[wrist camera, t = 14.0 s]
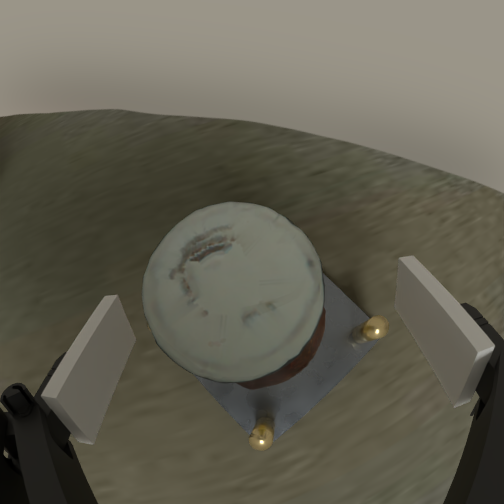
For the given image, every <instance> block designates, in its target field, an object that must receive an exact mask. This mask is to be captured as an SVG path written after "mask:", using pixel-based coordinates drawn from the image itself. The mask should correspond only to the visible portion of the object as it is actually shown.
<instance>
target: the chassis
mask: <svg viewBox="0 0 504 504" xmlns="http://www.w3.org/2000/svg"><path fill="white" fill-rule="evenodd" d="M323 277H324V283H325V303H324V308H325V311H326V313H325V331H324V334H323V338H322V340H321V343H320V346H319V347H318V350H317V352H316V354H315V356H314V357H313V359H312V360H311V361H310V362H309V364H308V366H307V367H305V368H304V369H303V370H302V371H301V372H300V373H298V374H296V375H295V376H294V377H292V378H290V379H289V380H287V381H285V382H283V383H280V384H277V385H272V386H268V387H264V388H260V389H255V390H250V389H247V388H244V387H242V386H240V385H238V384H237V383H219V382H214V381H211V380H208V379H205V378H202V377H199V376H196V375H195V377H196V378H197V379H198V380H199V381H200V382H201V384H202V385H203V386H204V387H205V388H206V389H207V390H208V391H209V393H210V394H211V395H212V396H213V397H214V398H215V399H216V400H217V401H218V402H219V404H220V405H221V406H222V407H223V408H224V409H225V410H226V411H227V412H228V413H229V414H230V415H231V416H232V417H233V418H234V419H235V421H236V422H237V423H238V424H239V425H240V426H241V427H242V428H243V429H244V430H245V431H246V432H247V433H248V434H249V435H250V436H249V443H250V445H251V446H252V447H253V448H254V449H256V450H266V449H268V448H269V447H270V446H271V445H272V443H273V441H275V440H276V439H277V438H278V437H280V436H281V435H282V434H283V433H284V432H285V431H287V430H288V429H289V428H290V427H291V426H293V425H294V424H295V423H296V422H297V421H298V420H299V419H301V418H302V417H303V416H304V415H305V414H306V413H307V412H308V411H309V410H311V409H312V408H313V407H314V406H315V405H316V404H317V403H318V402H319V401H320V400H321V399H322V398H323V397H324V396H325V395H327V394H328V393H329V392H330V391H331V390H332V389H333V388H334V387H335V386H336V385H337V384H338V383H339V382H340V381H341V380H342V379H343V378H344V377H345V376H346V375H347V374H348V373H349V372H350V371H351V370H352V368H353V367H354V366H355V365H356V364H357V363H358V362H359V361H360V360H361V359H362V358H363V357H364V356H365V355H366V354H367V352H368V351H369V350H370V349H371V348H372V347H373V346H374V345H375V344H376V342H377V341H378V340H379V339H380V338H382V337H384V336H385V335H386V334H387V333H388V330H389V323H388V321H387V319H386V318H385V317H383V316H380V315H377V316H374V317H372V318H369V317H368V316H367V315H366V314H365V313H364V312H363V311H362V310H361V309H360V308H359V307H358V306H357V305H356V304H355V303H354V302H353V301H352V300H351V299H350V298H348V297H347V296H346V295H345V294H344V293H343V292H342V291H341V290H340V289H339V288H338V287H337V286H336V285H335V284H334V283H333V282H332V281H331V280H330V279H329V278H328V277H327V276H326V275H325V274H323ZM147 327H148V329H149V330H150V328H149V325H148V323H147ZM150 331H151V330H150Z"/></svg>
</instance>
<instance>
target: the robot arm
mask: <svg viewBox="0 0 504 504" xmlns="http://www.w3.org/2000/svg"><path fill="white" fill-rule="evenodd" d="M394 308H395V310H396V311H397V313H398V314H399V316H400V317H401V319H402V321H403V322H404V324H405V325H406V327H407V328H408V330H409V332H410V333H411V335H412V336H413V338H414V340H415V341H416V343H417V344H418V346H419V348H420V349H421V351H422V353H423V354H424V356H425V358H426V359H427V361H428V363H429V364H430V366H431V368H432V370H433V371H434V373H435V375H436V376H437V378H438V380H439V382H440V383H441V385H442V387H443V389H444V391H445V392H446V394H447V396H448V398H449V400H450V402H451V403H452V405H453V407H454V408H455V407H457V406H460V405H462V404H465V403H467V402H469V401H471V399H472V397H473V395H474V393H475V391H476V392H477V393H478V395H479V397H480V398H479V400H478V401H477V403H476V405H475V407H474V409H473V411H472V412H471V414H470V416H473V414H474V417H473V421H472V424H471V428H470V432H469V435H468V438H467V442H466V445H465V448H464V451H463V454H462V457H461V460H460V463H459V466H458V469H457V471H456V474H455V477H454V479H453V482H452V484H451V487H450V489H449V491H448V494H447V496H446V498H445V501H444V503H443V504H504V340H503V339H502V337H501V336H500V335H499V334H498V333H497V332H496V330H495V329H494V328H493V327H492V326H491V325H490V324H488V321H487V320H486V319H485V318H483V316H482V315H481V314H480V312H479V311H478V310H477V309H476V308H474V307H472V306H471V305H469V304H467V303H463V304H459V303H458V302H457V301H456V299H455V298H454V297H453V296H452V295H451V294H450V293H449V292H448V291H447V290H446V289H445V288H444V287H443V286H442V284H441V283H440V282H439V281H438V280H437V279H436V278H435V277H434V276H433V275H432V274H431V273H430V272H429V271H428V270H427V269H426V268H425V267H424V266H423V265H422V264H421V263H420V262H419V261H418V260H417V259H416V258H415V257H414V256H406V257H400V258H399V260H398V274H397V286H396V296H395V305H394ZM135 342H136V338H135V336H134V333H133V331H132V329H131V326H130V324H129V321H128V319H127V317H126V314H125V312H124V309H123V307H122V304H121V302H120V299H119V296H118V295H110V296H104V298H103V299H102V301H101V302H100V303H99V305H98V306H97V308H96V309H95V311H94V312H93V314H92V315H91V316H90V318H89V319H88V321H87V322H86V324H85V325H84V327H83V328H82V330H81V331H80V333H79V334H78V336H77V337H76V339H75V340H74V342H73V344H72V345H71V347H70V348H69V350H68V351H67V352H65V353H64V354H63V355H61V356H60V357H59V358H58V359H57V360H56V362H55V363H54V365H53V366H52V368H51V369H52V370H50V371H49V373H48V374H47V375H48V376H47V377H46V378H45V379H44V381H43V383H42V384H41V386H40V388H39V389H38V391H37V393H36V394H35V396H34V397H33V396H32V395H31V393H30V392H29V391H28V389H27V388H26V387H25V385H23V384H22V383H15V384H12V385H11V386H9V387H8V388H7V389H6V390H5V391H4V392H3V393H2V395H1V399H0V402H1V403H2V404H3V405H4V407H5V408H6V409H7V410H8V412H3V410H2V409H1V408H0V504H98V503H97V501H96V499H95V497H94V494H93V492H92V490H91V488H90V486H89V484H88V482H87V479H86V477H85V475H84V473H83V470H82V468H81V465H80V463H79V461H78V458H77V455H76V453H75V450H74V448H73V445H72V443H71V442H70V441H69V440H68V439H69V436H70V434H72V435H73V436H74V437H75V438H76V440H77V441H78V442H82V443H88V444H93V445H94V442H95V440H96V437H97V434H98V432H99V429H100V426H101V424H102V421H103V418H104V416H105V413H106V411H107V408H108V406H109V403H110V401H111V398H112V396H113V393H114V391H115V388H116V386H117V383H118V381H119V379H120V376H121V374H122V372H123V369H124V367H125V364H126V362H127V360H128V357H129V355H130V353H131V351H132V348H133V346H134V344H135ZM474 412H475V413H474ZM4 450H5V451H6V452H7V453H8V459H7V458H6V457H5V456H4V454H3V453H4Z"/></svg>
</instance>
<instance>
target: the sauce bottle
mask: <svg viewBox="0 0 504 504" xmlns="http://www.w3.org/2000/svg"><path fill="white" fill-rule="evenodd" d="M142 301H143V309H144V315H145V317H146V320H147V323H148V325H149V328H150V330H151V332H152V334H153V336H154V338H155V341H156V343H157V345H158V346H159V347H160V348H161V350H162V351H163V352H164V353H165V354H166V355H167V356H168V357H169V358H171V359H172V360H173V361H174V362H175V363H177V364H178V365H179V366H181V367H182V368H184V369H185V370H186V371H188V372H190V373H192V374H194V375H196V376H199V377H202V378H205V379H208V380H211V381H214V382H219V383H237V384H238V385H240V386H242V387H244V388H247V389H250V390H255V389H260V388H264V387H268V386H272V385H277V384H280V383H283V382H285V381H287V380H289V379H290V378H292V377H294V376H295V375H296V374H298V373H300V372H301V371H302V370H303V369H304V368H305V367H307V366H308V364H309V362H310V361H311V360H312V359H313V357H314V356H315V354H316V352H317V350H318V347H319V346H320V343H321V340H322V338H323V334H324V331H325V313H326V311H325V308H324V303H325V283H324V277H323V271H322V265H321V261H320V259H319V256H318V254H317V252H316V250H315V248H314V246H313V244H312V243H311V241H310V240H309V238H308V237H307V236H306V234H305V233H304V232H303V231H302V230H301V229H300V228H298V227H297V226H296V225H295V224H293V223H292V222H291V221H290V220H289V219H288V218H286V217H285V216H283V215H281V214H279V213H277V212H275V211H274V210H272V209H271V208H268V207H265V206H261V205H257V204H253V203H241V202H225V203H220V204H215V205H209V206H206V207H204V208H202V209H198V210H196V211H194V212H193V213H191V214H189V215H188V216H187V217H186V218H184V219H183V220H182V221H180V222H179V223H177V224H176V225H175V226H174V227H173V228H172V229H171V230H170V231H169V232H168V233H167V234H166V235H165V236H164V237H163V239H162V240H161V242H160V243H159V245H158V246H157V247H156V249H155V250H154V252H153V254H152V255H151V257H150V260H149V263H148V267H147V270H146V272H145V274H144V277H143V288H142Z"/></svg>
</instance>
